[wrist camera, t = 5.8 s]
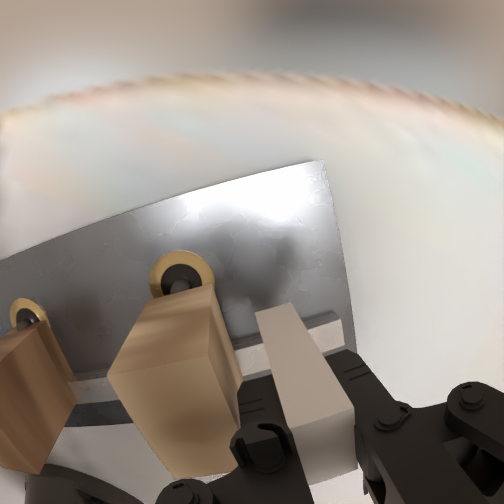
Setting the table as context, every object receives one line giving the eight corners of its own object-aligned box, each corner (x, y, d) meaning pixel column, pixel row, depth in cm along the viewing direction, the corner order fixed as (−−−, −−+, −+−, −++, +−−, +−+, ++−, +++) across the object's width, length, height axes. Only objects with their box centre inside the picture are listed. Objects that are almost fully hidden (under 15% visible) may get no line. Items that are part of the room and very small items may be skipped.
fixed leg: (50, 393, 15) (3, 467, 8) (12, 321, 14) (-59, 380, 7) (83, 390, 15) (39, 474, 8) (43, 312, 14) (-32, 379, 7)
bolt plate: (55, 415, 17) (43, 435, 15) (-17, 269, 14) (-39, 279, 12) (349, 355, 18) (365, 376, 16) (313, 161, 15) (329, 157, 13)
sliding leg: (186, 378, 15) (174, 479, 8) (149, 286, 14) (99, 363, 7) (241, 366, 15) (256, 466, 8) (209, 269, 14) (202, 342, 7)
